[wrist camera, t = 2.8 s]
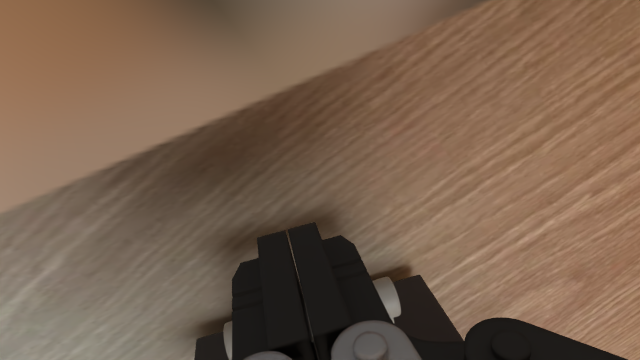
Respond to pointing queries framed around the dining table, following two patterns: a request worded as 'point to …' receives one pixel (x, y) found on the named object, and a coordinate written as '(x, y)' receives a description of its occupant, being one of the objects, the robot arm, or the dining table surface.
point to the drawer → (400, 302)
